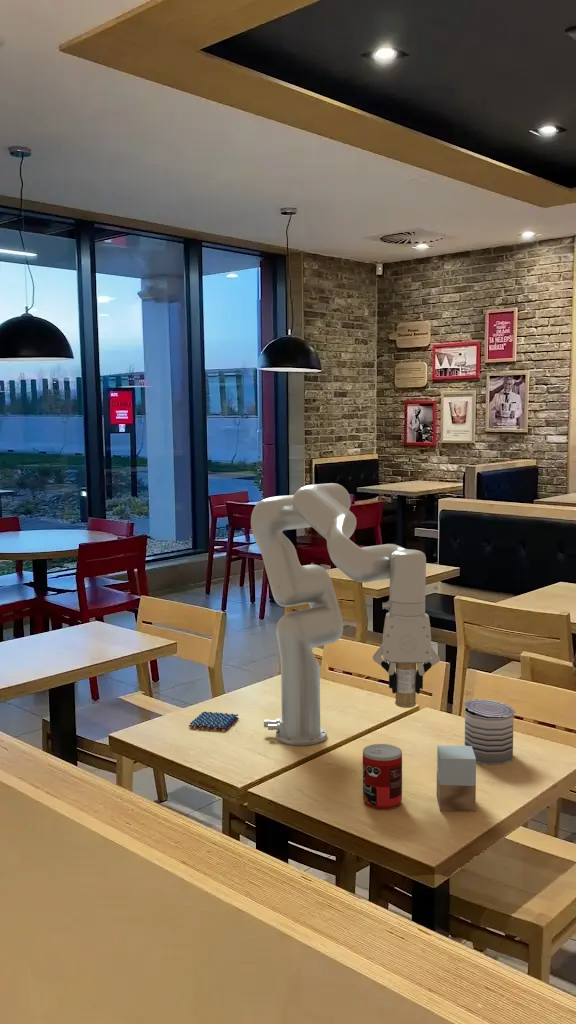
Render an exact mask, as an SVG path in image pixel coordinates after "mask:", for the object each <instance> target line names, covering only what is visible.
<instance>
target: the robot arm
mask: <svg viewBox="0 0 576 1024" xmlns="http://www.w3.org/2000/svg"><path fill="white" fill-rule="evenodd" d="M351 504H352V500H351V496H350V493H349V492H348V489H346V488H345V487H344V486H343V485H341V484H339V483H335V482H334V483H333V482H330V483H319V484H318V483H315V484H308V485H305V486H302V487H300V488H298V490H296V491H295V493H294V494H289V495H277V496H271V497H267V498H263V499H262V500H260V501H258V502H257V504H255V506H254V507H253V510H252V512H251V514H250V515H251V516H250V528H251V532H252V536H253V538H254V540H255V543H256V546H257V547H258V550H259V552H260V554H261V557H262V560H263V565H264V568H265V572H266V575H267V579H268V583H269V586H270V591H271V595H272V597H273V599H274V602H275V603H276V604H277V605H279V606H280V607H284V608H287V607H288V608H289V607H296V606H301V605H307V604H308V605H309V608H305V609H304V608H303V609H300V610H295V611H291V612H288V613H285V614H284V615H283V616H281V617H280V618H279V619H278V621H277V624H276V629H275V633H276V638H277V644H278V648H279V649H278V650H279V656H280V657H279V658H280V659H279V660H280V683H281V685H280V688H281V689H280V690H281V693H280V694H281V697H280V698H281V701H280V702H281V715H280V718H276V719H264V720H263V728H267V731H275V730H276V731H275V738H276V740H277V741H279V742H280V743H282V744H286V745H290V746H312V745H316V744H319V743H321V742H323V741H325V740H326V739H327V733H328V732H327V731H326V729H325V728H324V727H323V726H321V676H320V675H321V673H320V672H321V671H320V663H319V660H318V659H317V657H316V656H315V655H316V654H314V652H313V649H314V648H318V647H321V646H325V645H326V646H327V645H329V644H333V643H335V642H337V641H339V640H340V638H341V637H342V635H343V632H344V621H343V620H344V619H343V616H342V612H341V608H340V606H339V601H338V598H337V595H336V590H335V588H334V584H333V580H332V578H331V576H330V574H329V573H328V572H327V570H326V569H325V568H324V567H323V566H321V565H319V564H306V565H301V563H300V560H299V556H298V553H297V549H296V548H295V547H296V546H295V545H294V544H293V543H292V541H291V540H290V539H289V538H288V537H287V536H286V535H285V533H283V532H284V531H289V530H299V529H308V528H313V529H314V530H315V531H316V532H317V533H318V534H319V535H320V536H322V537H323V538H324V539H325V540H326V547H327V552H328V554H329V555H328V556H329V557H330V560H331V562H332V564H334V566H335V567H336V568H338V569H339V570H340V571H341V572H342V573H343V574H345V576H346V577H348V578H350V579H351V580H353V581H355V582H356V583H357V582H358V583H362V584H363V583H365V584H366V583H370V582H371V583H372V582H378V581H382V580H383V581H384V580H389V598H388V600H387V601H386V602H382V610H384V609H385V610H387V611H388V612H386V614H385V618H384V625H383V632H382V643H381V645H380V647H379V648H377V650H376V651H375V653H374V654H373V656H372V660H373V662H375V663H376V664H378V665H380V666H381V667H382V668H383V669H384V670H385V671H386V672H387V674H388V688H389V689H391V692H392V694H396V663H416V694H417V695H420V691H421V690H423V686H424V675H425V674H426V673H427V671H429V670H430V669H431V668H432V667H433V666H435V665H437V664H439V662H440V661H441V658H440V656H439V654H438V653H437V652H436V651H435V649H434V648H433V646H432V634H431V633H432V632H431V623H430V616H429V614H428V613H426V589H427V588H426V581H427V580H426V579H427V578H426V577H427V576H426V575H427V557H426V554H425V552H423V551H421V550H417V549H409V548H405V547H403V546H401V545H397V544H396V543H385V544H378V545H377V544H376V545H370V546H363V547H360V546H358V544H356V543H355V542H354V541H352V540H351V539H350V538H351V537H352V535H353V534H354V533H355V530H356V527H357V517H356V516H355V514H354V513H353V512H352V511H351V510H350V508H351Z"/></svg>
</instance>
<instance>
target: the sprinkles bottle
mask: <svg viewBox="0 0 576 1024" xmlns="http://www.w3.org/2000/svg"><path fill="white" fill-rule="evenodd" d="M395 672H396V693H395V701H394V704H395V706H397V707H399V708H403V709H410V708H414V707H416V705H417V702H416V701H417V699H416V696H417V695H416V694H417V693H416V672H417V663H396V667H395Z"/></svg>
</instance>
